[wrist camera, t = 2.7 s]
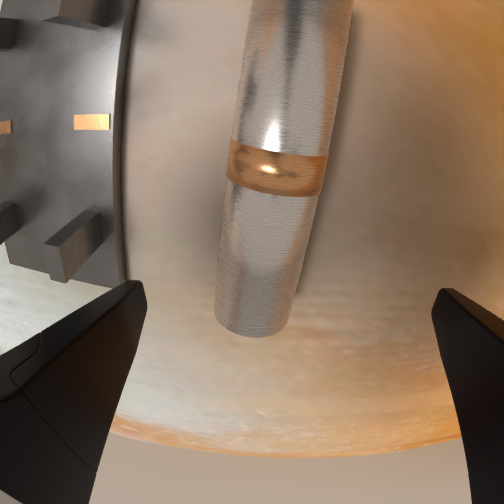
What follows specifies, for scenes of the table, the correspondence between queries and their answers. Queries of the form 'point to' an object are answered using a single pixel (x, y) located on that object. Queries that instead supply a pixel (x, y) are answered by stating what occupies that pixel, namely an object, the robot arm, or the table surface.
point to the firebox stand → (63, 136)
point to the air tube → (278, 157)
